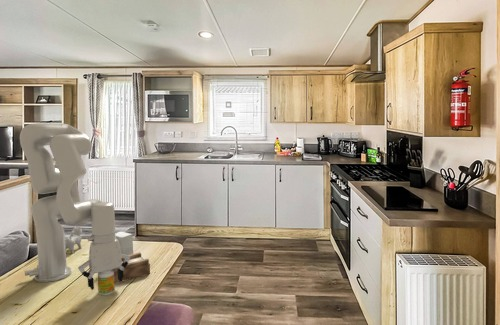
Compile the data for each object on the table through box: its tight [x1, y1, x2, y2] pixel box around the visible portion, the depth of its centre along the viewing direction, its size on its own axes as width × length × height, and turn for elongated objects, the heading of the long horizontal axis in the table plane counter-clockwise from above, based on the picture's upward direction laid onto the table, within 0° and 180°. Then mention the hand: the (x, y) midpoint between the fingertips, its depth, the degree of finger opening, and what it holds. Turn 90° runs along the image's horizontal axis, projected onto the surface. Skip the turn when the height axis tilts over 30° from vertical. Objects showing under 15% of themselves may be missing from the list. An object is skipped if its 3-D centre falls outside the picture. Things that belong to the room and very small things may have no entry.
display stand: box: [112, 252, 151, 284], centre depth 136 cm, size 16×12×6 cm
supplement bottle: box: [97, 270, 116, 296], centre depth 121 cm, size 5×5×10 cm
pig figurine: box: [65, 225, 83, 255], centre depth 162 cm, size 5×13×11 cm, turn 0°
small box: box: [115, 231, 134, 255], centre depth 154 cm, size 8×6×10 cm
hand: (106, 284), depth 121 cm, fingers open, 9 cm apart
